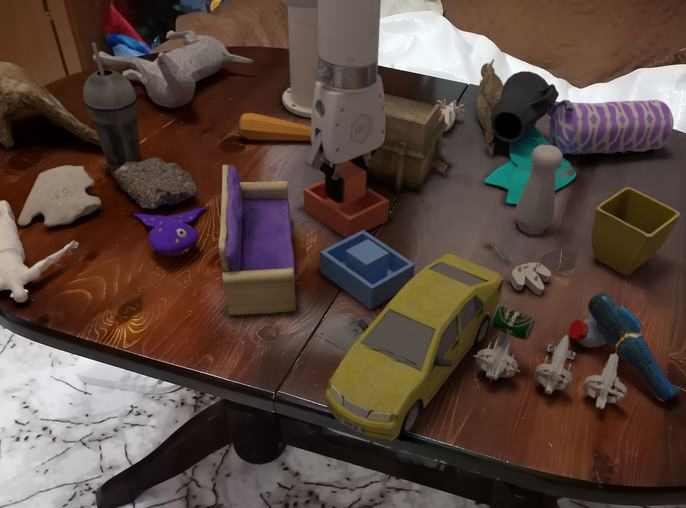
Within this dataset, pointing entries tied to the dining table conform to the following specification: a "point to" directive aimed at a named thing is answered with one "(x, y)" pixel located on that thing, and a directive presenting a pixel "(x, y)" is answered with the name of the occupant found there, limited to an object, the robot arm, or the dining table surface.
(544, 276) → the game controller
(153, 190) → the stone
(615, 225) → the flower pot
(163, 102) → the statue
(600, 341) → the red capped bottle
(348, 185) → the red block
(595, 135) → the pencil case
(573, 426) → the dining table surface
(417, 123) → the wooden crate
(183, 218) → the toy
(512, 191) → the cloth
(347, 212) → the red bin
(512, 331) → the beer can
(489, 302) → the toy car
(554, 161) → the salt shaker
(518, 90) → the mug
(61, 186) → the decorative object
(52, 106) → the rock
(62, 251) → the figurine
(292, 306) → the toy sofa
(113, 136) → the beverage cup
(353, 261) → the blue block
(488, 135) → the bird model
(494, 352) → the toy vehicles
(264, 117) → the carrot
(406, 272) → the blue bin
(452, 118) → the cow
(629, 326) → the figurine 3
